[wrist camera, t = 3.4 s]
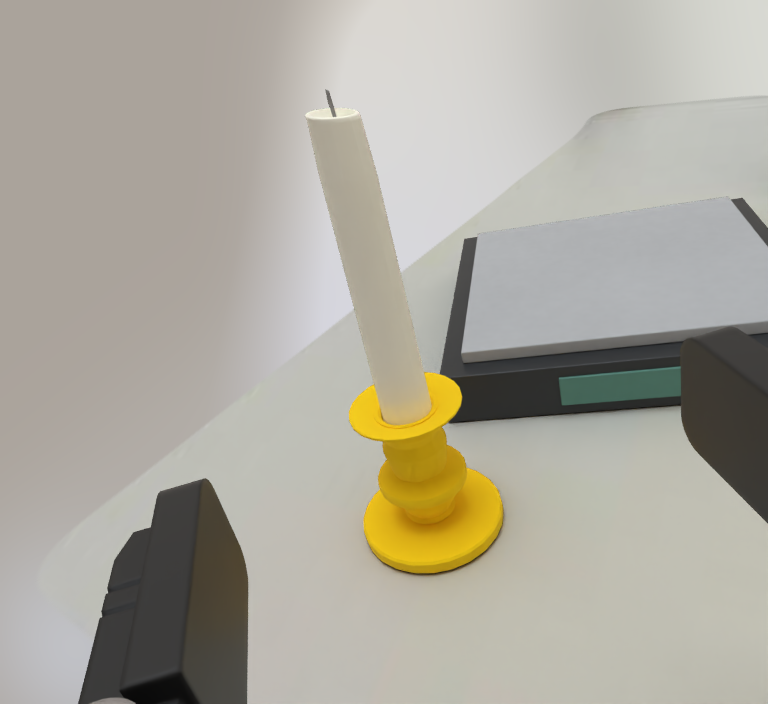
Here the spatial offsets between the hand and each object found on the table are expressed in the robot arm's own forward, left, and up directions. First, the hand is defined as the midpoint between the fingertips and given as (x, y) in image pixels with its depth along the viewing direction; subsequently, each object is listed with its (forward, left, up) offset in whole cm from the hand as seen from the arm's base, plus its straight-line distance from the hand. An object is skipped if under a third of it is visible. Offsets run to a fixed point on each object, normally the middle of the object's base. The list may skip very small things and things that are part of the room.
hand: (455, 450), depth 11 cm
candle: (-3, +10, -11) cm, 15 cm away
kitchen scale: (+5, +24, -11) cm, 26 cm away
